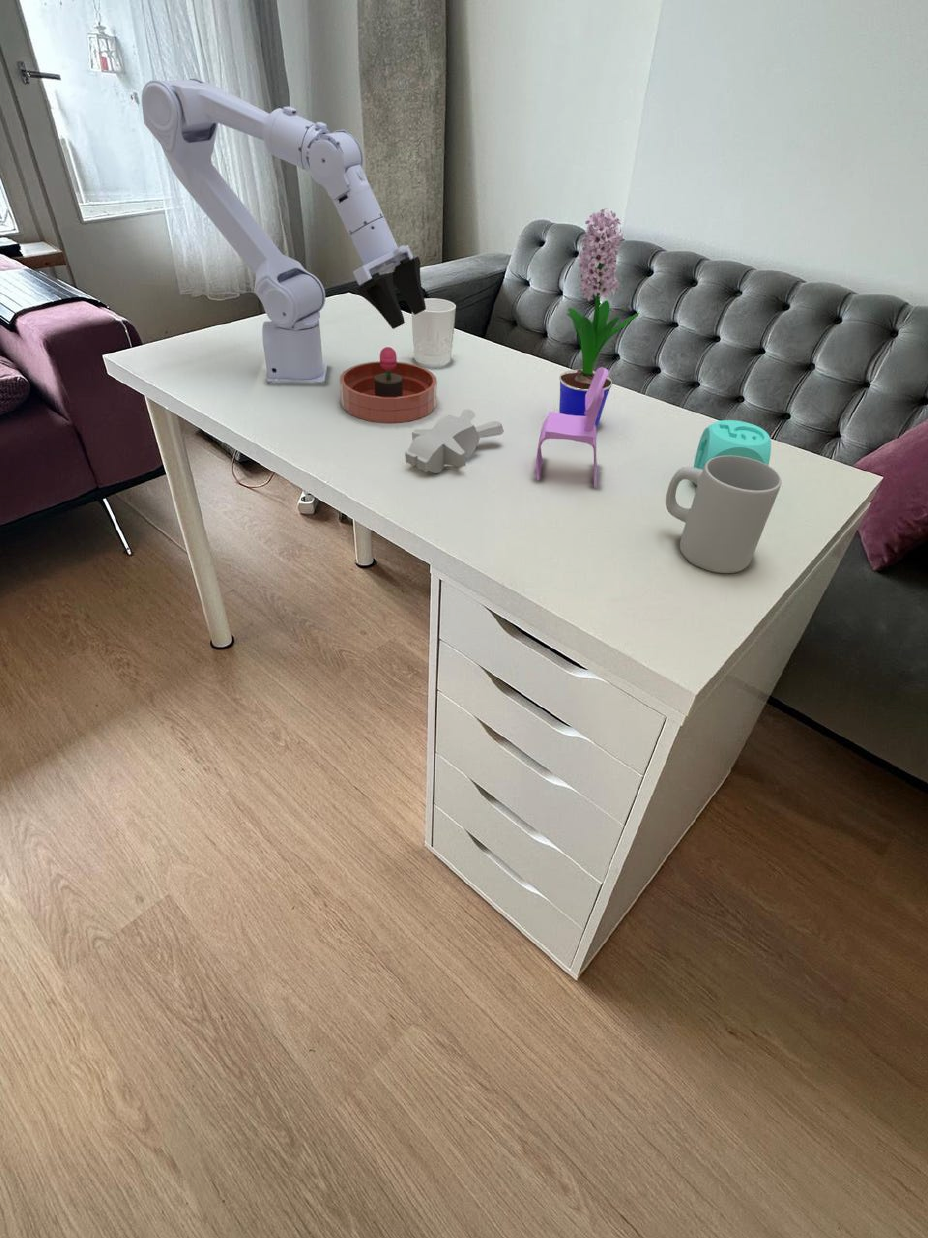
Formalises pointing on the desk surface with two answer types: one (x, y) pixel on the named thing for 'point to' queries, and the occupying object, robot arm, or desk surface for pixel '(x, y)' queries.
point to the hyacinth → (596, 332)
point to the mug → (724, 511)
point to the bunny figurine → (448, 442)
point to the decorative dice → (733, 442)
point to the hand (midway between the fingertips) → (410, 318)
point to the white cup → (434, 332)
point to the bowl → (367, 406)
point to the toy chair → (576, 422)
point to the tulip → (388, 376)
